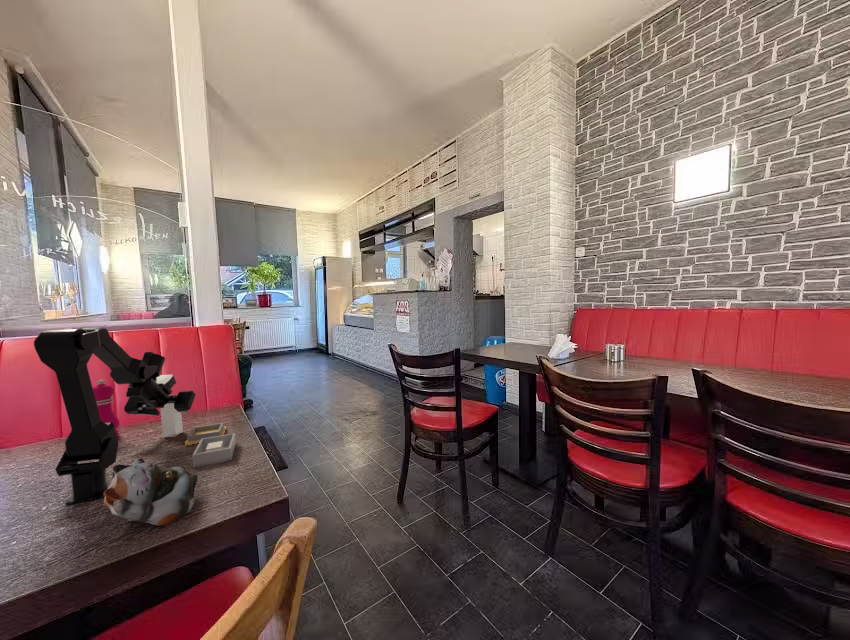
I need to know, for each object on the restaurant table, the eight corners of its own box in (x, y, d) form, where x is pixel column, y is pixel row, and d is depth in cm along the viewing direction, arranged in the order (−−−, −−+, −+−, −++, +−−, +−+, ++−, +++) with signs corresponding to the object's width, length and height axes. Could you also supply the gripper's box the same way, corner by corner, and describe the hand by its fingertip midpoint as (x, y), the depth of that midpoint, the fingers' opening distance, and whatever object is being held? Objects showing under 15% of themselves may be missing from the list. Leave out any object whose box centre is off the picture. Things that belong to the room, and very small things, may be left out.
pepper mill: (117, 432, 117) (112, 376, 116) (123, 437, 113) (118, 378, 112) (88, 440, 112) (82, 380, 110) (93, 445, 107) (87, 383, 106)
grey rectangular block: (175, 436, 112) (172, 398, 112) (162, 437, 112) (159, 399, 111) (183, 431, 116) (180, 394, 116) (170, 432, 116) (167, 395, 115)
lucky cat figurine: (190, 523, 68) (142, 480, 61) (127, 557, 65) (70, 515, 59) (206, 469, 81) (168, 429, 74) (154, 495, 78) (110, 456, 72)
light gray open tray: (231, 460, 94) (230, 447, 94) (193, 467, 91) (192, 454, 90) (236, 443, 105) (235, 432, 105) (202, 450, 101) (201, 438, 101)
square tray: (222, 439, 109) (221, 431, 109) (185, 445, 105) (184, 437, 105) (226, 429, 118) (225, 421, 118) (192, 434, 114) (191, 426, 114)
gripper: (190, 366, 109) (210, 390, 121) (127, 370, 107) (153, 394, 119) (177, 397, 102) (199, 420, 114) (109, 401, 100) (139, 424, 112)
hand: (173, 413), depth 115 cm, fingers open, 9 cm apart
